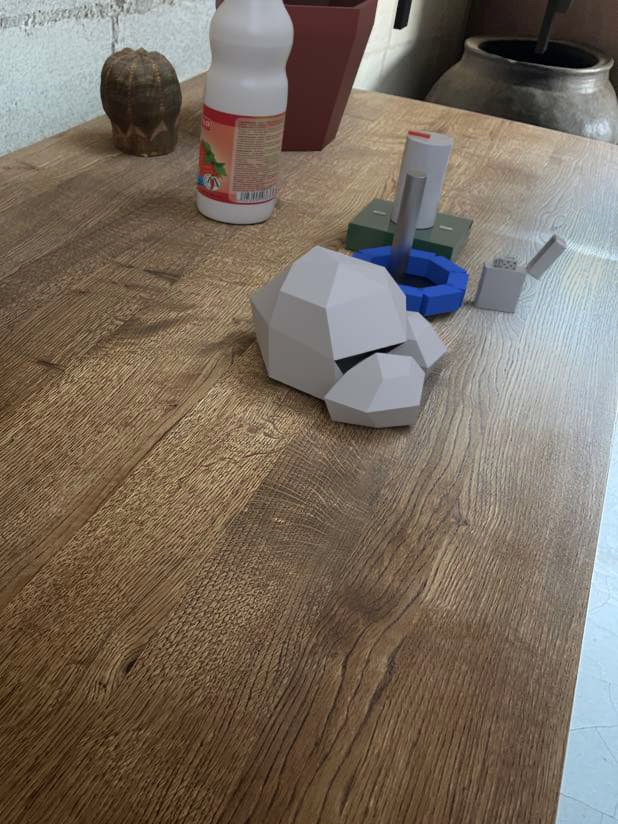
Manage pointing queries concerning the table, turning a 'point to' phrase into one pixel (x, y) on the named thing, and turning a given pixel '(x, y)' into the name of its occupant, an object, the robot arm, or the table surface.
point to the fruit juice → (244, 110)
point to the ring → (434, 269)
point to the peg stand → (408, 232)
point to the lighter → (513, 277)
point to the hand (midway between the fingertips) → (468, 39)
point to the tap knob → (430, 158)
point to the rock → (346, 338)
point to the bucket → (322, 67)
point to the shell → (141, 101)
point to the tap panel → (440, 238)
